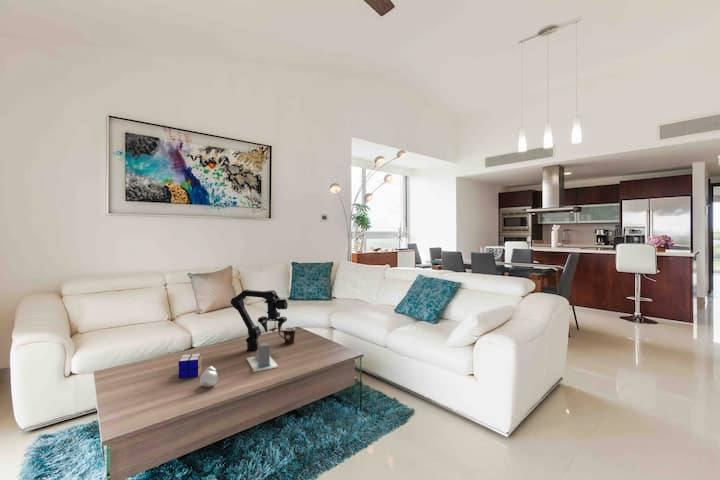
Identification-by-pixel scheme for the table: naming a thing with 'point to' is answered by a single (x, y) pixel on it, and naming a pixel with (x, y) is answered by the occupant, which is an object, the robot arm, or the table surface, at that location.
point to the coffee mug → (288, 335)
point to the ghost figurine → (209, 377)
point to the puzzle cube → (190, 366)
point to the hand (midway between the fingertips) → (272, 332)
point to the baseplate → (256, 367)
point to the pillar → (264, 354)
